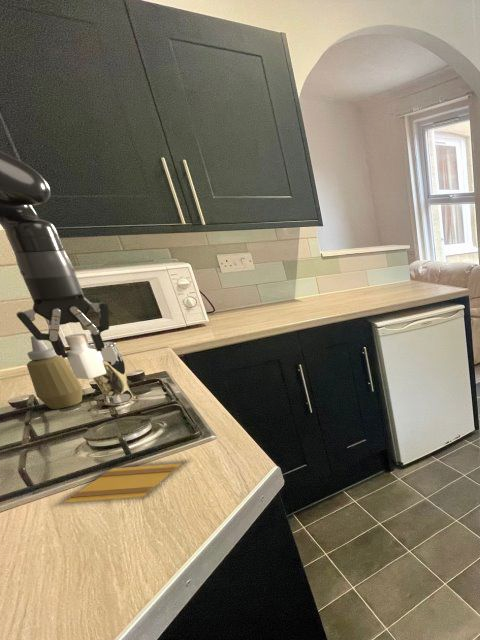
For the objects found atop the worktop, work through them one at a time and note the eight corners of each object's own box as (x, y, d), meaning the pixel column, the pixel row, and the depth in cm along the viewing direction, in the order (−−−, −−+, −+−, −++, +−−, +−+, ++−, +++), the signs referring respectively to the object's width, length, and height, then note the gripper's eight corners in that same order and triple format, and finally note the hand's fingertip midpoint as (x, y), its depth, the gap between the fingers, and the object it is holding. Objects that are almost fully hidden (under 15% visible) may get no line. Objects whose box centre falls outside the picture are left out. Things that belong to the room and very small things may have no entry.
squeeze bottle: (54, 413, 101) (20, 342, 95) (36, 409, 104) (1, 339, 98) (95, 400, 108) (65, 333, 102) (77, 396, 111) (47, 330, 104)
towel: (65, 505, 68) (63, 502, 67) (113, 471, 77) (112, 467, 77) (143, 499, 69) (142, 496, 68) (182, 466, 78) (181, 462, 78)
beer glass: (107, 409, 103) (82, 351, 97) (98, 403, 106) (73, 347, 101) (142, 399, 108) (120, 343, 103) (132, 394, 112) (110, 340, 106)
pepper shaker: (88, 380, 91) (71, 338, 88) (74, 379, 92) (56, 337, 89) (108, 374, 95) (92, 333, 92) (94, 373, 96) (78, 332, 92)
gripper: (93, 269, 93) (121, 343, 99) (-5, 276, 82) (33, 359, 89) (100, 271, 88) (128, 349, 95) (-3, 279, 78) (36, 365, 84)
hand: (82, 353), depth 92 cm, fingers closed on pepper shaker, 5 cm apart
